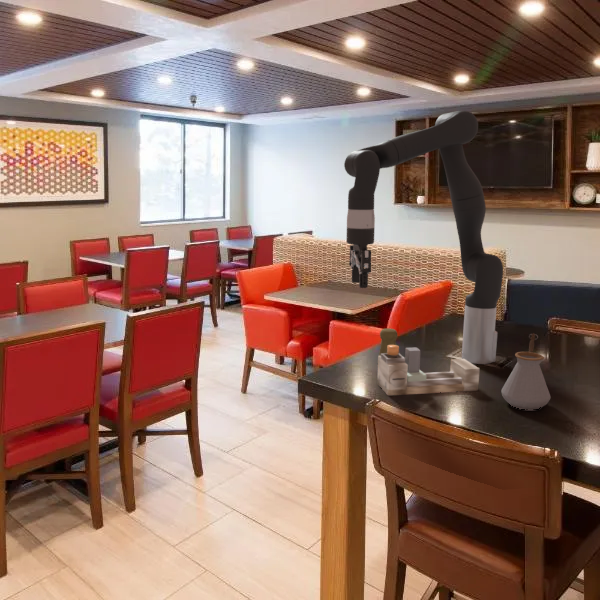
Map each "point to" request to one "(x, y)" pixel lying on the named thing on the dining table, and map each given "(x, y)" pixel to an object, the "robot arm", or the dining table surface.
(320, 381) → the dining table surface
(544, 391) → the coffee pot
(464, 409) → the dining table surface
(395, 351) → the button
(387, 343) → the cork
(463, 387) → the rail
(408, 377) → the carriage
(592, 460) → the dining table surface
